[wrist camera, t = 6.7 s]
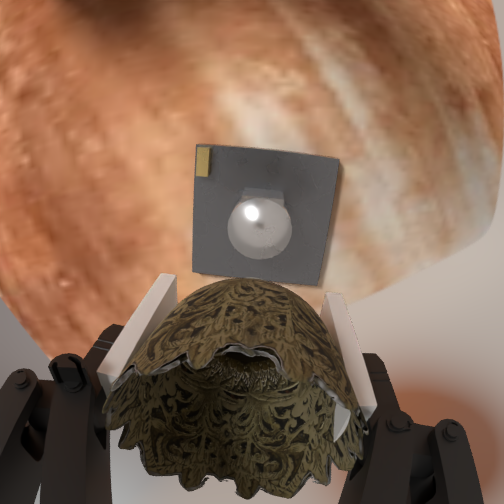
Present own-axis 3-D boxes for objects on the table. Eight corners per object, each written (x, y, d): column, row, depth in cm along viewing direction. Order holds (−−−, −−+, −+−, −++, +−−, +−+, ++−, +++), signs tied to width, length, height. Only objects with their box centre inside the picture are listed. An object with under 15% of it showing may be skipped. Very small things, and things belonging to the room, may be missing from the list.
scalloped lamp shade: (355, 252, 13) (425, 395, 5) (305, 372, 16) (312, 507, 8) (183, 213, 13) (78, 329, 5) (170, 344, 16) (117, 471, 8)
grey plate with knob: (199, 143, 25) (186, 146, 21) (337, 157, 25) (347, 163, 21) (194, 267, 30) (184, 287, 26) (315, 280, 30) (321, 302, 26)
